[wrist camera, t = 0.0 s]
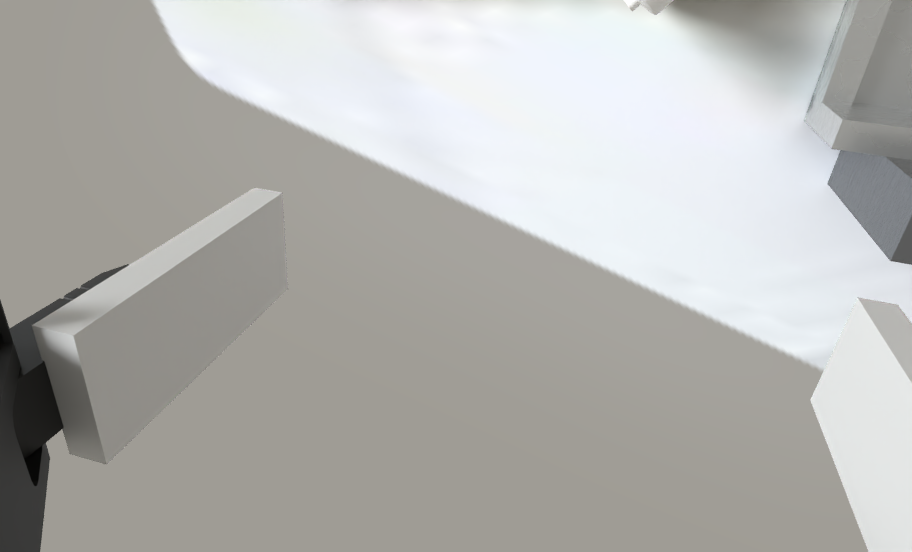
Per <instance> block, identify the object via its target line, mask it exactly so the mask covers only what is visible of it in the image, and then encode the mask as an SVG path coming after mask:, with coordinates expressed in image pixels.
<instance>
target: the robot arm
mask: <svg viewBox="0 0 912 552" xmlns="http://www.w3.org/2000/svg"><path fill="white" fill-rule="evenodd" d="M287 289H288V282H287V265H286V247H285V229H284V212H283V193H281V192H275V191H270V190H265V189H259V188H253V189H251V190H250V191H248V192H247V193H245V194H243V195H242V196H240V197H238V198H237V199H235V200H234V201H232V202H230V203H229V204H227V205H226V206H224V207H222V208H221V209H219V210H218V211H216V212H215V213H213V214H211V215H209V216H208V217H206V218H205V219H203V220H201V221H200V222H198V223H196V224H195V225H193V226H192V227H190V228H188V229H187V230H185V231H184V232H182V233H180V234H179V235H177V236H176V237H174V238H172V239H171V240H169V241H167V242H166V243H164V244H163V245H161V246H159V247H158V248H156V249H154V250H153V251H151V252H150V253H148V254H146V255H145V256H143V257H142V258H140V259H138V260H137V261H135V262H133V263H132V264H130V265H128V264H127V265H124V266H122V267H119V268H116V269H113V270H110V271H107V272H104V273H102V274H100V275H98V276H96V277H95V278H93V279H91V280H90V281H88V282H86V283H85V284H83V285H81V288H80V289H78V288H76V289H75V290H73V291H71V292H70V293H68V294H66V295H65V296H64V299H58V300H56V301H55V302H53V303H52V304H50V305H48V306H46V307H45V308H43V309H42V310H40V311H38V312H36V313H35V314H33V315H32V316H30V317H28V318H26V319H25V320H23V321H22V322H20V323H18V324H17V325H15V326H13V327H12V328H10V329H9V326H8V323H7V320H6V316H5V313H4V310H3V307H2V304H1V301H0V552H40V547H41V538H42V528H43V518H44V509H45V499H46V490H47V480H48V471H49V460H50V457H49V453H48V449H47V446H46V442H47V441H48V440H49V439H50V438H52V437H53V436H54V435H55V434H57V433H58V432H59V431H60V430H61V429H63V433H64V435H65V439H66V443H67V446H68V450H69V453H70V454H72V455H75V456H79V457H82V458H86V459H89V460H93V461H96V462H100V463H103V464H108V463H109V462H110V461H111V460H112V459H113V458H114V457H115V456H116V455H117V454H118V453H119V452H120V451H121V450H122V449H123V448H124V447H125V446H126V445H127V444H128V443H129V442H130V441H131V440H132V439H133V438H135V437H136V435H138V434H139V433H140V432H141V430H143V429H144V428H145V427H146V426H147V425H148V424H149V423H150V422H151V421H152V420H153V419H154V418H155V417H156V416H157V415H158V414H159V413H160V412H161V411H162V410H163V409H164V408H165V407H166V406H167V405H169V404H170V403H171V402H172V401H173V400H174V399H175V398H176V397H177V396H178V395H179V394H180V393H181V392H182V391H183V390H184V389H185V388H186V387H187V386H188V385H189V384H190V383H191V382H192V381H193V380H194V379H195V378H196V377H198V375H200V374H201V373H202V372H203V371H204V370H205V369H206V368H207V367H208V366H209V365H210V364H211V363H212V362H213V361H214V360H215V359H216V358H217V357H218V356H219V355H220V354H221V353H222V352H223V351H224V350H225V349H226V348H227V347H228V346H229V345H231V343H233V342H234V341H235V340H236V339H237V338H238V337H239V336H240V335H241V334H242V333H243V332H244V331H245V330H246V329H247V328H248V327H249V326H250V325H251V324H252V323H253V322H254V321H255V320H256V319H257V318H258V317H259V316H260V315H262V314H263V313H264V312H265V311H266V310H267V309H268V308H269V307H270V306H271V305H272V304H273V303H274V302H275V301H276V300H277V299H278V298H279V297H280V296H281V295H282V294H283V293H284V292H285V291H286V290H287ZM811 403H812V405H813V408H814V410H815V413H816V416H817V418H818V421H819V424H820V426H821V429H822V431H823V434H824V437H825V439H826V442H827V445H828V447H829V450H830V452H831V455H832V458H833V460H834V463H835V466H836V468H837V471H838V473H839V476H840V478H841V481H842V484H843V486H844V489H845V492H846V494H847V497H848V499H849V502H850V505H851V507H852V510H853V512H854V515H855V518H856V520H857V523H858V525H859V528H860V530H861V533H862V536H863V538H864V541H865V544H866V546H867V548H868V551H869V552H912V324H911V322H910V321H909V320H908V318H907V317H906V316H905V314H904V313H903V311H902V310H901V309H900V307H899V306H898V305H896V304H890V303H885V302H879V301H874V300H868V299H863V298H857V300H856V302H855V304H854V306H853V308H852V311H851V313H850V315H849V317H848V319H847V322H846V324H845V326H844V328H843V330H842V332H841V335H840V337H839V339H838V341H837V343H836V346H835V348H834V350H833V352H832V354H831V356H830V359H829V361H828V363H827V365H826V367H825V369H824V372H823V374H822V376H821V379H820V381H819V383H818V385H817V387H816V389H815V391H814V393H813V396H812V398H811Z"/></svg>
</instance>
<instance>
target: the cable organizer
mask: <svg viewBox="0 0 912 552" xmlns="http://www.w3.org/2000/svg"><path fill="white" fill-rule="evenodd" d="M624 1H625V3H626V4H627V6H628V7H629V8H630V9H631V10H632V11H633V10H635V9H636V8H637V7H638V6H639V5H640V4H641V5H642V6H643V7H645V8H646V9H647V10H648V11H649V12H651V13H652V14H655V15H657V14H658V13H659V12H661V11H662V10H663V9H664V8H665V7H667V6H668V5H669V4H670V3H671V2H673V1H674V0H624Z"/></svg>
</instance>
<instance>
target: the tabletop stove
mask: <svg viewBox="0 0 912 552" xmlns="http://www.w3.org/2000/svg"><path fill="white" fill-rule="evenodd" d="M804 121H805V122H806V123H807V124H808V125H809V126H810V127H811V129H812V130H813V131H814V132H815V133H816V134H817V135H818V136H819V137H820V138H821V139H822V140H823V141H824V142H825V143H826V144H827V145H828V146H829V147H830V148H831V149H837V150H841V151H840V153H839V156H838V159H837V161H836V164H835V166H834V169H833V171H832V174H831V176H830V179H829V182H828V185H829V186H830V187H831V189H832V190H833V191H834V192H835V193H836V195H837V196H838V197H839V198H840V200H841V201H842V202H843V203H844V205H845V206H846V207H847V208H848V209H849V211H850V212H851V213H852V214H853V216H854V217H855V218H856V219H857V220H858V222H859V223H860V224H861V225H862V227H863V228H864V229H865V230H866V232H867V233H868V234H869V235H870V236H871V238H872V239H873V240H874V241H875V243H876V244H877V245H878V246H879V247H880V249H881V250H882V251H883V252H884V254H885V255H886V256H887V257H888V259H889V260H890V261H894V262H900V263H906V264H911V265H912V0H847V1H846V4H845V7H844V10H843V13H842V15H841V18H840V21H839V24H838V27H837V30H836V32H835V35H834V38H833V41H832V44H831V46H830V49H829V52H828V55H827V58H826V61H825V63H824V66H823V69H822V72H821V75H820V78H819V80H818V83H817V86H816V89H815V92H814V94H813V97H812V100H811V103H810V106H809V109H808V111H807V114H806V117H805V120H804Z"/></svg>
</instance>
